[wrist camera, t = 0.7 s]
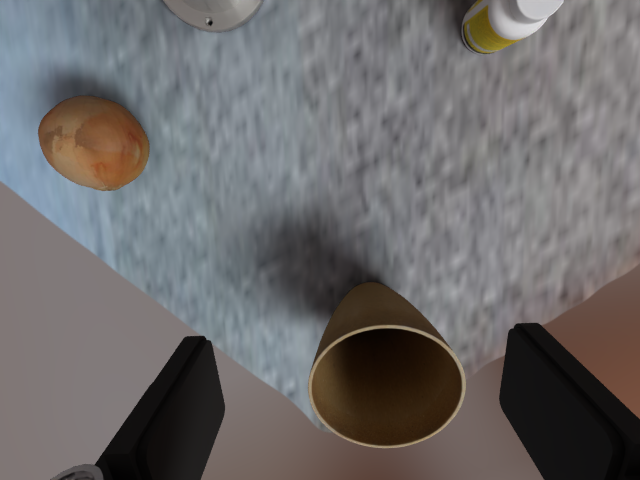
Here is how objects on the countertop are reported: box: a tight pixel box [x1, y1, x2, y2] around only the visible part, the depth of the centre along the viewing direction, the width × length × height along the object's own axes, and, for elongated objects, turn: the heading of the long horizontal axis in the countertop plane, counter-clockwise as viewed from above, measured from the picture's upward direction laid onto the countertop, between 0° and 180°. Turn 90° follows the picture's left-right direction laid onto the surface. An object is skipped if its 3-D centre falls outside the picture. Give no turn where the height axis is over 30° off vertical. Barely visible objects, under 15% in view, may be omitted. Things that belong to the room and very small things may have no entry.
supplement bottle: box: [462, 0, 564, 55], centre depth 30 cm, size 5×5×10 cm
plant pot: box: [308, 282, 466, 448], centre depth 39 cm, size 15×15×16 cm
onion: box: [38, 96, 149, 191], centre depth 35 cm, size 10×10×10 cm
